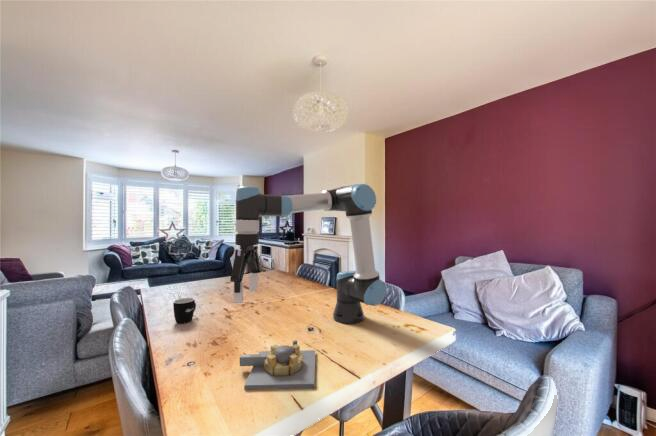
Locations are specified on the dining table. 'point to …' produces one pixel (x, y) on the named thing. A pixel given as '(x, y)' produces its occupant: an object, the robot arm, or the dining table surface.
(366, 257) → the robot arm
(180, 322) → the mug
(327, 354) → the dining table surface
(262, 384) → the hub plate
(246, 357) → the ring nut
